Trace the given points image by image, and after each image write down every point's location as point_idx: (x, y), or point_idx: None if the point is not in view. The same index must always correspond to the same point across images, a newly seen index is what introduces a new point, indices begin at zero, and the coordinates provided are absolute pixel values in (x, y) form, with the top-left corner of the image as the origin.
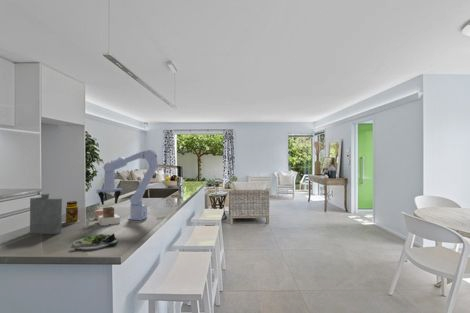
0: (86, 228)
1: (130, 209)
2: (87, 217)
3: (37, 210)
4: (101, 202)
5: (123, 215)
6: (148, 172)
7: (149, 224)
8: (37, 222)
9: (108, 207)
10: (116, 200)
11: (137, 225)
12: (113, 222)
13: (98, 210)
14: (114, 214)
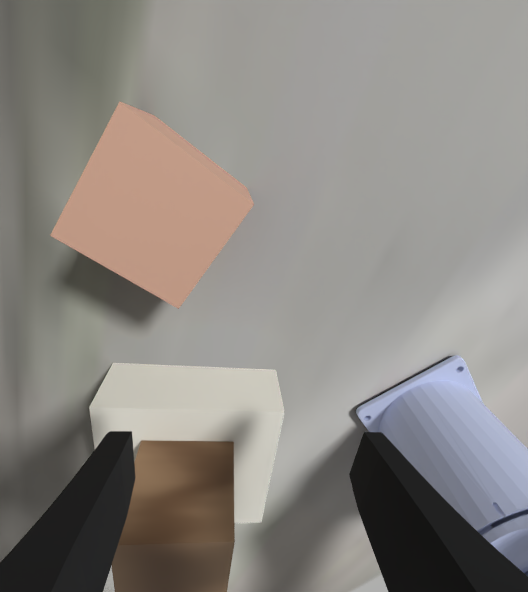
0: (9, 489)
1: (428, 480)
2: (4, 20)
3: None
4: (86, 462)
5: (429, 237)
6: None
7: (373, 552)
8: None
9: (181, 553)
10: (379, 544)
11: (315, 545)
12: None
13: (115, 225)
14: (265, 425)
